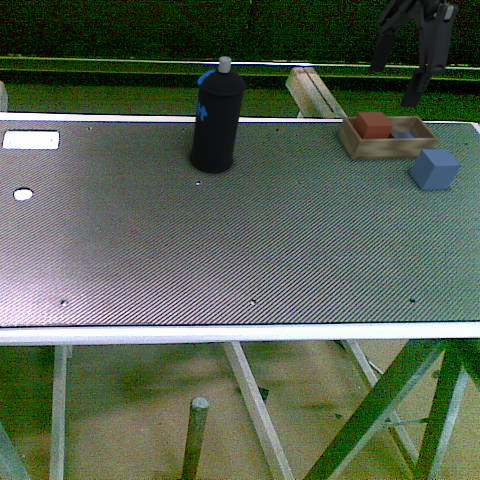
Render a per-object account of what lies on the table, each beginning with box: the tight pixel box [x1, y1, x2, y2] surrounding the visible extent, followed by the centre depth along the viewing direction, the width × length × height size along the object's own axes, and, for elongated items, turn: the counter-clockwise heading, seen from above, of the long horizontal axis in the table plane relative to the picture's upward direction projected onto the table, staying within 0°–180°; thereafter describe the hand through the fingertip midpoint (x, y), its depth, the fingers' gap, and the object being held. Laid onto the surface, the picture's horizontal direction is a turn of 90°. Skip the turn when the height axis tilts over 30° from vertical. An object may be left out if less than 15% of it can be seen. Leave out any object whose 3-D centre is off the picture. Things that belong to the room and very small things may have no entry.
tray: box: [336, 115, 440, 161], centre depth 95 cm, size 16×9×4 cm, turn 95°
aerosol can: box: [189, 55, 247, 174], centre depth 84 cm, size 8×8×20 cm
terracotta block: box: [353, 111, 393, 139], centre depth 94 cm, size 5×5×6 cm
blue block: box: [409, 148, 462, 191], centre depth 87 cm, size 5×5×6 cm
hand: (391, 87), depth 87 cm, fingers open, 13 cm apart
